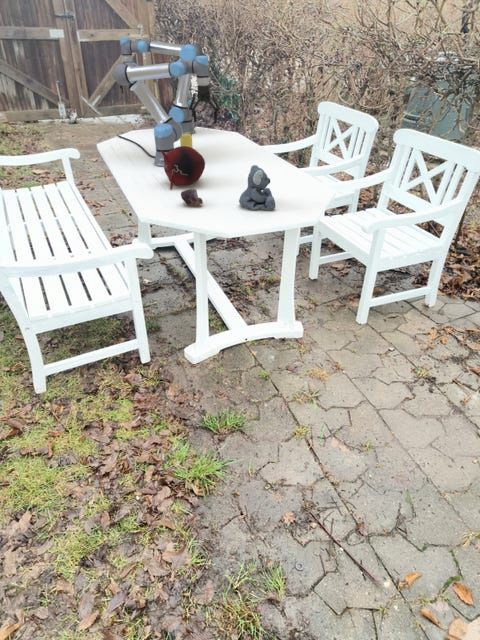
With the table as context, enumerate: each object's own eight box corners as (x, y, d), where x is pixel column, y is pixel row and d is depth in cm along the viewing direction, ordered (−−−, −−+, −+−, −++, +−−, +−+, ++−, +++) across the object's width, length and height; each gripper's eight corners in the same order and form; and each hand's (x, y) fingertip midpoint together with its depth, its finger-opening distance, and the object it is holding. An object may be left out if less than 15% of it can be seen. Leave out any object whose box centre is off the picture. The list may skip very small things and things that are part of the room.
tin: (183, 153, 317) (182, 136, 310) (179, 150, 323) (178, 134, 316) (194, 151, 320) (193, 135, 314) (190, 149, 326) (188, 133, 320)
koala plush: (276, 211, 223) (277, 171, 212) (240, 212, 222) (240, 172, 211) (271, 199, 237) (272, 161, 226) (237, 200, 236) (237, 162, 225)
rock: (196, 202, 238) (178, 205, 233) (194, 185, 234) (176, 188, 230) (205, 205, 228) (187, 208, 224) (203, 188, 224) (185, 191, 220)
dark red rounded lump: (162, 151, 264) (156, 150, 240) (201, 143, 263) (199, 140, 240) (172, 188, 271) (167, 190, 247) (209, 180, 270) (208, 181, 246)
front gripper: (224, 84, 275) (225, 121, 287) (186, 83, 281) (189, 120, 293) (221, 86, 269) (222, 124, 281) (182, 85, 275) (185, 122, 287)
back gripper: (110, 62, 332) (115, 94, 344) (144, 61, 335) (147, 93, 347) (111, 61, 339) (116, 92, 351) (144, 61, 341) (148, 92, 353)
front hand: (205, 122), depth 287 cm, fingers open, 13 cm apart
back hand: (131, 93), depth 349 cm, fingers open, 13 cm apart
